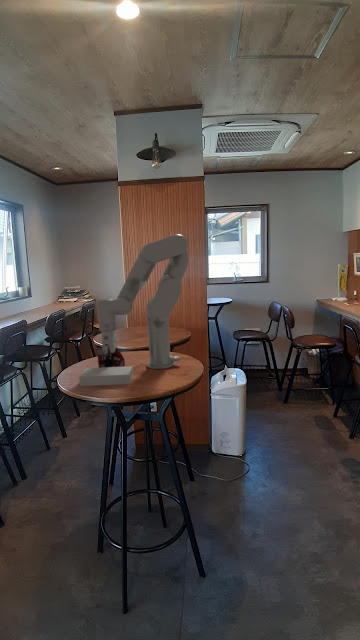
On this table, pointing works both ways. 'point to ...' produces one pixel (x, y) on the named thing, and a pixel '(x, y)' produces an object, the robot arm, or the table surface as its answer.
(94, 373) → the block
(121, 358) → the toy fire truck
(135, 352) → the table surface
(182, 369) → the table surface
